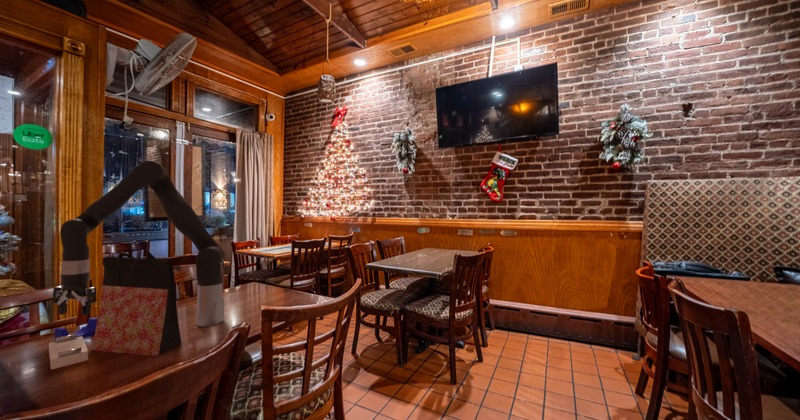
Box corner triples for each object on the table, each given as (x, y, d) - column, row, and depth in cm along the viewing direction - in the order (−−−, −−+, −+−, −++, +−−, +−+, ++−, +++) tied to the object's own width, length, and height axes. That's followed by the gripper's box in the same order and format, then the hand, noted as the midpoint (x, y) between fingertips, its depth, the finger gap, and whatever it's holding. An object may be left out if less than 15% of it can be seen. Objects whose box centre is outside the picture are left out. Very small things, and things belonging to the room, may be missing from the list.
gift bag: (81, 354, 105) (83, 251, 105) (123, 336, 119) (125, 246, 119) (160, 361, 102) (162, 254, 101) (193, 342, 116) (195, 249, 116)
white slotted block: (82, 344, 112) (82, 332, 112) (87, 360, 101) (88, 346, 101) (48, 351, 106) (49, 338, 106) (50, 369, 95) (51, 355, 95)
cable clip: (89, 332, 123) (89, 317, 123) (98, 333, 122) (99, 318, 122) (51, 345, 111) (51, 328, 111) (61, 346, 110) (61, 329, 110)
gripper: (103, 270, 121) (102, 311, 121) (67, 269, 121) (66, 310, 121) (84, 274, 113) (82, 318, 113) (45, 273, 113) (44, 317, 113)
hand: (74, 314), depth 117 cm, fingers open, 8 cm apart
